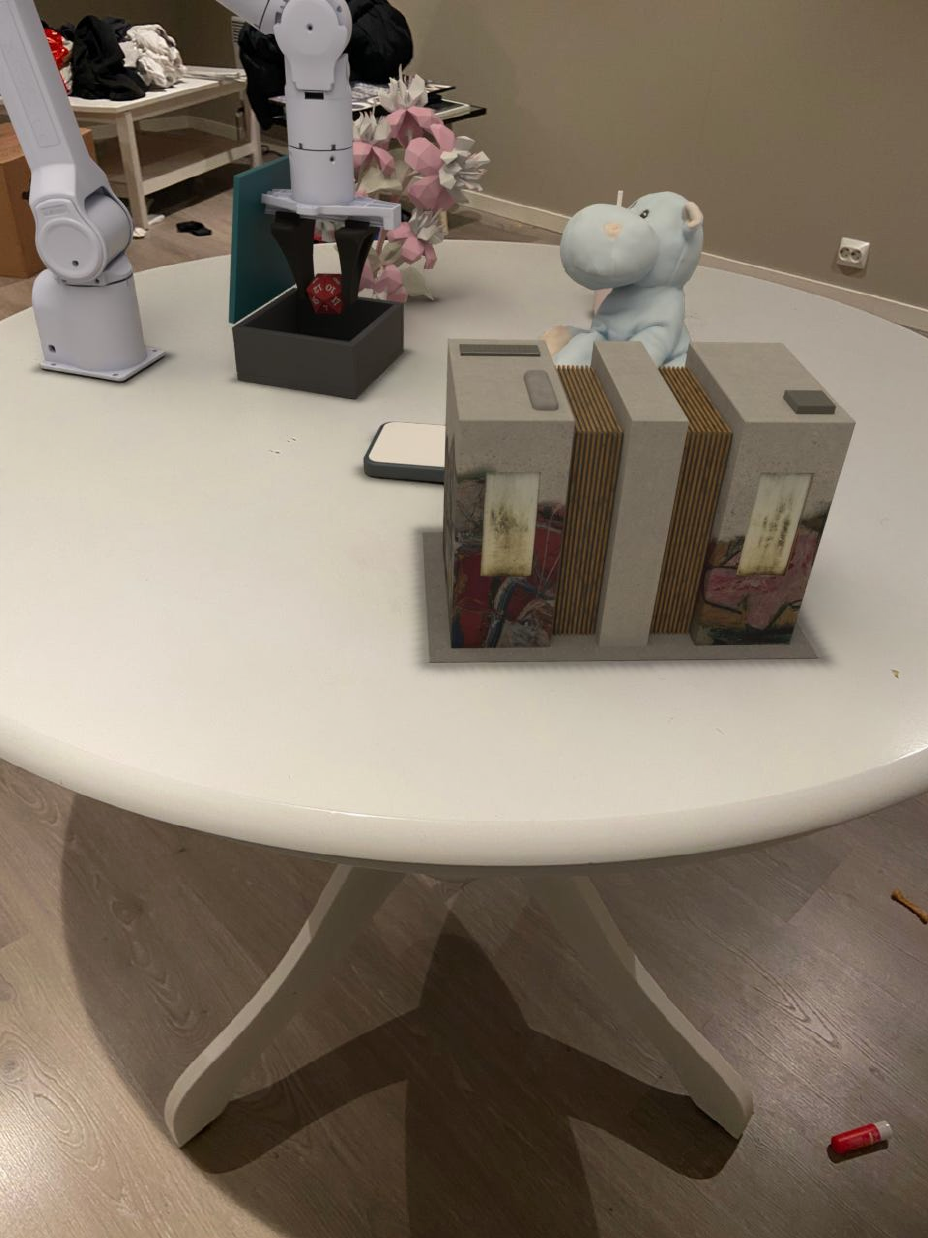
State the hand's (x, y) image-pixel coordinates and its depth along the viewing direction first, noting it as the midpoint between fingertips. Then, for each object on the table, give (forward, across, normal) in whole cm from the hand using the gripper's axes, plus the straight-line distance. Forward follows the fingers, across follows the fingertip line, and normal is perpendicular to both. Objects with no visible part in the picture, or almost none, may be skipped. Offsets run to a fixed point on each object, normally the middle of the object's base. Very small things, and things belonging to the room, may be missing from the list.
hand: (328, 298), depth 93 cm
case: (+7, -1, +1) cm, 8 cm away
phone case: (+8, +19, -14) cm, 25 cm away
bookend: (+8, +34, -29) cm, 45 cm away
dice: (+2, 0, 0) cm, 2 cm away
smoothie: (+8, +23, +29) cm, 38 cm away
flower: (+8, -2, +19) cm, 21 cm away
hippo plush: (+8, +30, +8) cm, 31 cm away
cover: (-5, -6, +1) cm, 8 cm away
